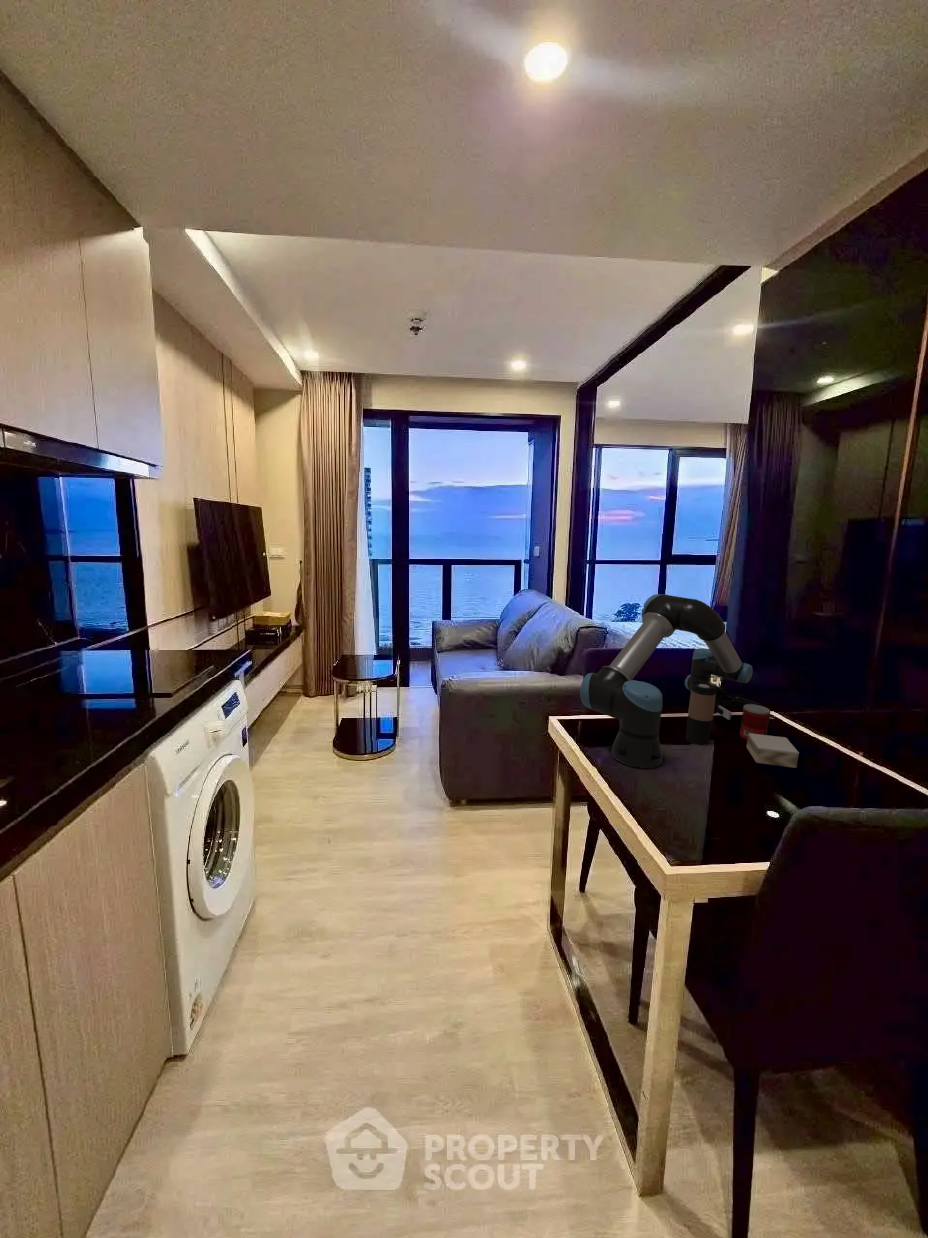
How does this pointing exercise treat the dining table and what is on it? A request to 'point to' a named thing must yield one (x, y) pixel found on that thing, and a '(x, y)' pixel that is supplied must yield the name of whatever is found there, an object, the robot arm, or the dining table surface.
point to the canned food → (754, 720)
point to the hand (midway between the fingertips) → (748, 715)
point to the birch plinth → (772, 750)
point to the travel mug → (700, 712)
